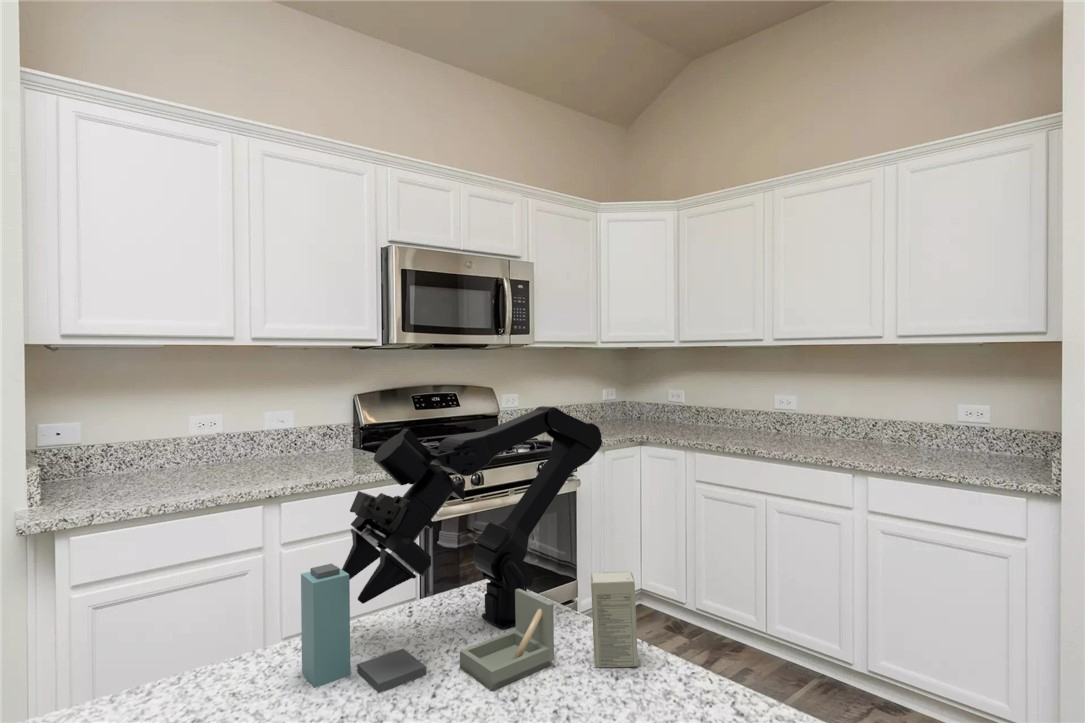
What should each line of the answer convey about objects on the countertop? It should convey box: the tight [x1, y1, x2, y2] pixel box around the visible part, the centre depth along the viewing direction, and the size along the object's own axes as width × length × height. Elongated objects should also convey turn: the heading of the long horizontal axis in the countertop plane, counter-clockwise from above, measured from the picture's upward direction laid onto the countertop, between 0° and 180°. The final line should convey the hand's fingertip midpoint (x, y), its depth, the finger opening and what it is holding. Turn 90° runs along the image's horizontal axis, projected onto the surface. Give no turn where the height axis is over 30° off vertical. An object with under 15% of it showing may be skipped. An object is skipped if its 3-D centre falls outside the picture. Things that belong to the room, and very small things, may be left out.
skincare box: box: [590, 570, 639, 668], centre depth 86 cm, size 6×4×12 cm
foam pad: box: [356, 648, 427, 694], centre depth 83 cm, size 7×7×1 cm
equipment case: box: [459, 589, 555, 692], centre depth 85 cm, size 11×8×9 cm
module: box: [300, 563, 352, 689], centre depth 84 cm, size 5×5×15 cm
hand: (349, 591), depth 86 cm, fingers open, 9 cm apart
